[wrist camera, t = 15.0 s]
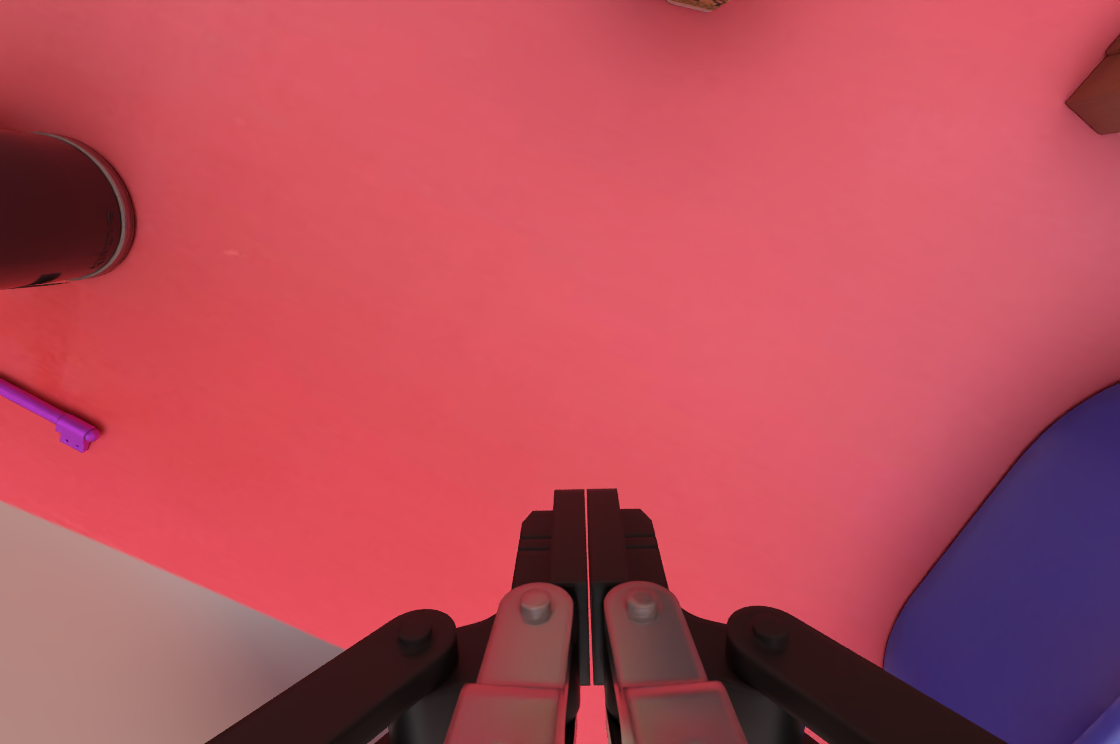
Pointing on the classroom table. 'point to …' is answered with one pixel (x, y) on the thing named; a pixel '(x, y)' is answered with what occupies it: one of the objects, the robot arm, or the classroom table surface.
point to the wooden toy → (1101, 94)
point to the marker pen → (53, 417)
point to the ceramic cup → (699, 4)
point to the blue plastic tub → (1030, 595)
